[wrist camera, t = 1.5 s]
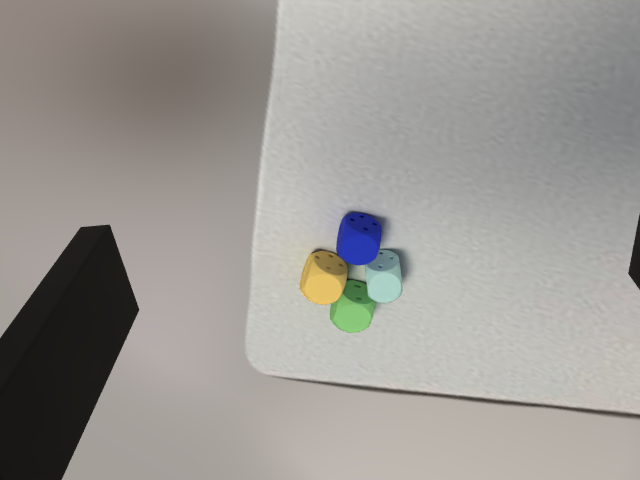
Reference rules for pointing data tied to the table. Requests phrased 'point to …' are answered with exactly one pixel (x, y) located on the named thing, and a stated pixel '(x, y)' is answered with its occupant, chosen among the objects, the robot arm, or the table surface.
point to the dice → (353, 296)
